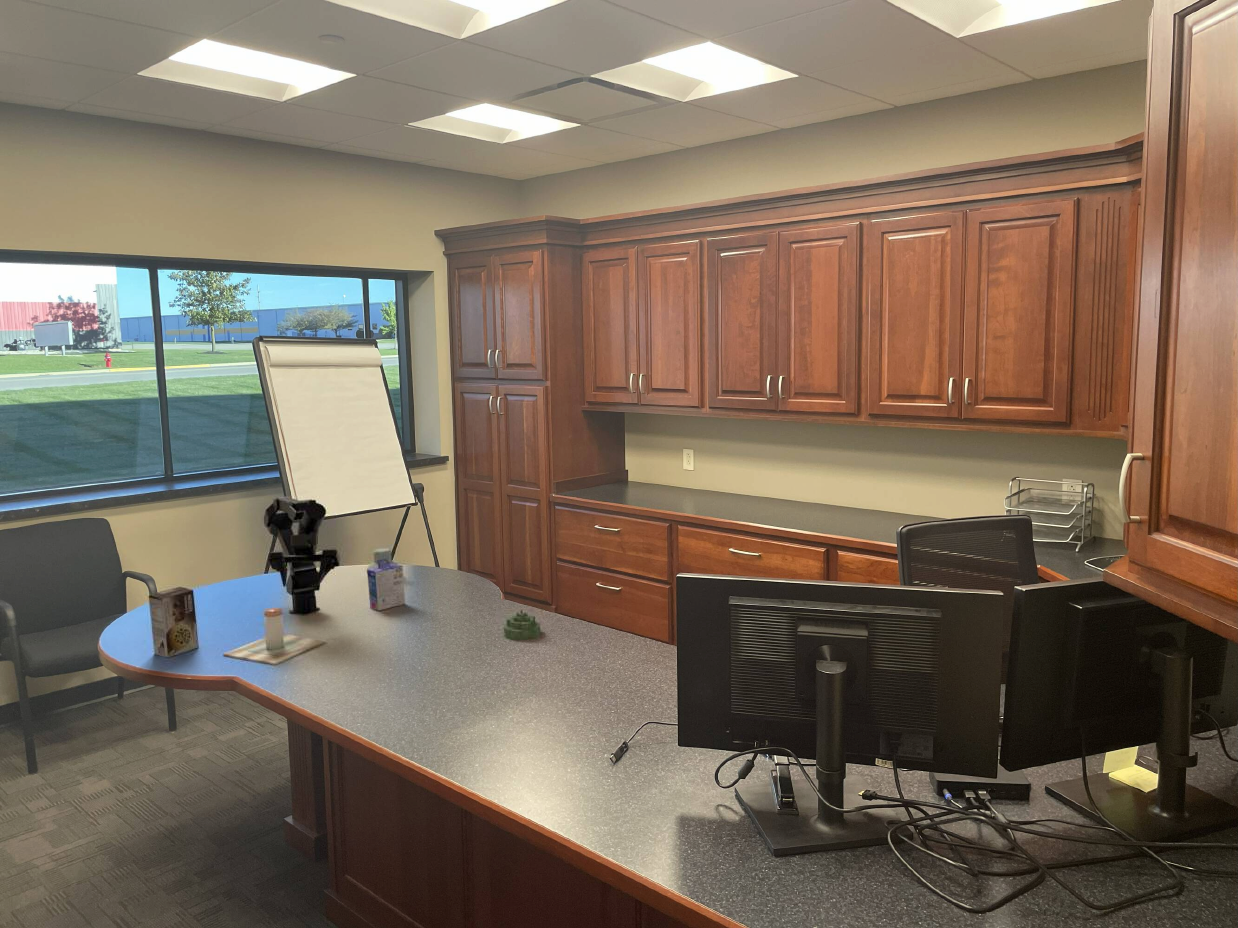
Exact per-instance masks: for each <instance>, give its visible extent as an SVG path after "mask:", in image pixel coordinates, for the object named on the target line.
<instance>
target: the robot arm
mask: <svg viewBox="0 0 1238 928" xmlns="http://www.w3.org/2000/svg"><path fill="white" fill-rule="evenodd" d="M326 514H327V510H326V508H325V506H324V505H323V504H320V503H319V502H317V500H316V499H303V500H302V499H301V500H299V499H295V498H293V497H292V496H289V495H288V496H287V495H286V496H279V497H276V498H273V501H272V503H271V504H270V505H269V506H268V507H267V508H266V509H265V511H264V515H263V516H264V517H263V524H264V527H265V528H266V529H267V531H268V532H269V534H270V535H273V536H274V537H276V538H277V539H278V542H279V544H280V546H281V549H282V550H279V551H278V550H277V551H270V552H269V554H268V557H267V560H268V564H269V566H270V568H271V569H272V570H275V571H276V573H277V572H279V573H280V578H281V582H282V586H283V588H286V590H285V591H286V592H287V594H289V595H290V596H291V599H292V600H291V601H292V609H290V610H289V612H288V613H289V614H295V615H303V616H306V615H308V614H311V613H313V612H317V611H319V610H320V609H321V608H320V607H319V606H317V597H316V592H318V591H320V588H321V583H322V582H323V580H324V579H325V577H326V576H327V575H328V574H329V573H330V571H331V570H334V569H335V568H337V567H339V566H340V564H341V557H340V553H339V552H338V550H337V549H336V548H331V549H330V548H327V549H326V548H325V549H322V552H321V554H317V549H318V544H319V530H320V527H321V526H322V524H323V521H324V519H325V517H326ZM296 521H299V522H298V527H297V534H294V533H295V532H294V531H293V527H294V523H295V522H296ZM316 562H317V563H318V562H319V564H320V566H319V569H318V570H317V567H316V565H315V563H316ZM288 565H289V567H290V569H289V575H288V568H287V567H288ZM287 577H288V578H287Z"/></svg>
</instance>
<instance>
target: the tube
mask: <svg viewBox="0 0 1238 928" xmlns="http://www.w3.org/2000/svg"><path fill="white" fill-rule="evenodd" d="M263 613H264V615H263V616H264V631H265V632H264V635H265V637H266V649H271V650H273V649H279V648H282V647H284V640H283V634H284V627H283V625H284V624H283V623H284V622H283V608H281V607H270V608H267V609H265V610H263ZM265 637H264V638H265Z"/></svg>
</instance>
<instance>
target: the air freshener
mask: <svg viewBox="0 0 1238 928" xmlns="http://www.w3.org/2000/svg"><path fill="white" fill-rule="evenodd" d="M372 555H373V556H372V557H373V562H372V563H370V564H369V565H368V566H367V568H366V571H367V570H369V569H373V568H377V567H378V563H377V560H381V559H386V558H387V559H388V562H389V564H398V563H397V562H396V561H394V560H392V549H390V548H388V547H385V548H384V547H382V548H376V549H374V550H373V553H372ZM385 563H387V562H386V561H382V562H380V564H385Z"/></svg>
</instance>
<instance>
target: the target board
mask: <svg viewBox="0 0 1238 928" xmlns="http://www.w3.org/2000/svg"><path fill="white" fill-rule="evenodd" d="M283 640H284V647H282V648H279V649H273V650H271V649H266V637H262V638H260V639H258V640H256V641H252V642H250V643H247V644H244V645H243V646H240V647H237V648H234V649H233V650H229V651H226V652H224V653H223V654H222V655H223V657H229V658H234V659H238V660H239V659H240V660H246V661H250V662H256V663H262V664H267V665H272V666H276V665H278V664H281V663H282V662H285V661H287V660H290V659H293V658H294V657H297V656H298V655H302V654H304V653H306V652H308V651H310V650H313V649H316V648H317V647H320V646H322V645H325V644H326V642H327V641H326V640H321V639H317V638H309V637H302V636H296V635H290V634H284V633H283Z"/></svg>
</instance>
